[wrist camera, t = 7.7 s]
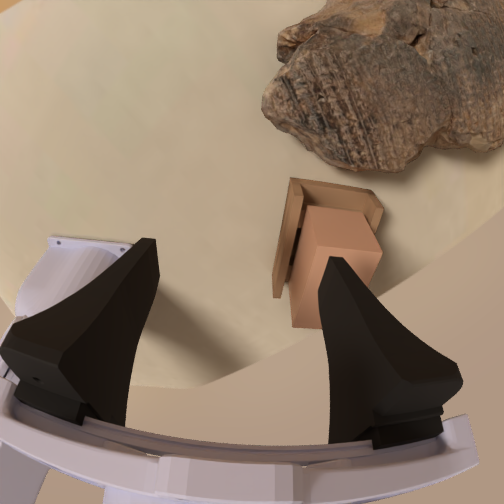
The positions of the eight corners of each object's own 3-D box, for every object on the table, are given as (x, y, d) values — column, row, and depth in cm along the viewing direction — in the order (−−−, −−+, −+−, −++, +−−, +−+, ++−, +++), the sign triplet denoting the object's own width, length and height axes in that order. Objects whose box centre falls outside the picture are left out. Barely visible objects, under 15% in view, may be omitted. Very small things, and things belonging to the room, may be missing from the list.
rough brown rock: (304, 194, 22) (512, 127, 16) (312, 230, 18) (549, 148, 12) (217, 18, 14) (468, -32, 8) (201, 5, 10) (506, -39, 4)
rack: (340, 280, 26) (346, 302, 24) (272, 274, 26) (273, 297, 24) (371, 190, 21) (384, 208, 18) (290, 177, 20) (294, 195, 18)
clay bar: (335, 286, 24) (346, 329, 20) (288, 282, 24) (292, 327, 20) (362, 212, 20) (383, 253, 16) (307, 205, 19) (317, 245, 16)
